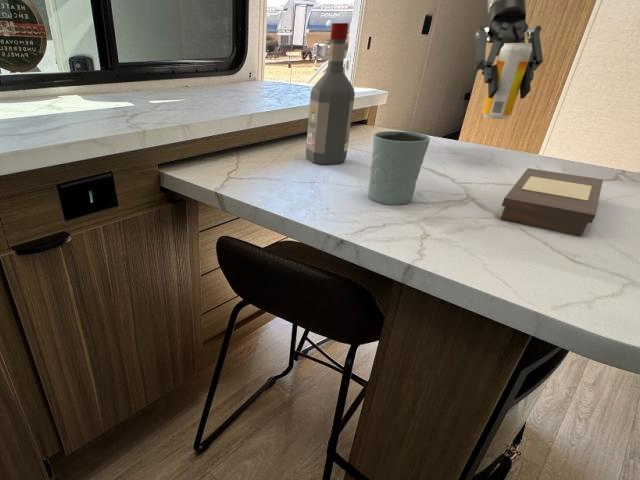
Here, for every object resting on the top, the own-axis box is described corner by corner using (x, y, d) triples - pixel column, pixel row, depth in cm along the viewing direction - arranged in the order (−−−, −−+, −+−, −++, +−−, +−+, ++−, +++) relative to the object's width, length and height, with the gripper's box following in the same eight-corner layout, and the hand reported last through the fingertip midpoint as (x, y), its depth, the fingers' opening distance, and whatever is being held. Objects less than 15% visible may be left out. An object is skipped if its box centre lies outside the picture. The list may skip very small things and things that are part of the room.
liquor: (316, 165, 104) (329, 22, 88) (302, 156, 112) (313, 23, 95) (349, 163, 106) (368, 23, 90) (333, 154, 114) (349, 23, 97)
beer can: (508, 116, 100) (532, 43, 92) (510, 120, 95) (535, 43, 87) (481, 114, 102) (501, 43, 94) (481, 118, 98) (503, 43, 89)
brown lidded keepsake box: (520, 186, 90) (527, 167, 88) (593, 199, 84) (603, 178, 81) (496, 219, 75) (504, 196, 72) (584, 238, 68) (596, 214, 66)
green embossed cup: (366, 204, 81) (377, 140, 74) (361, 188, 89) (370, 129, 83) (420, 207, 80) (436, 142, 73) (410, 190, 88) (423, 130, 82)
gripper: (540, 22, 100) (545, 106, 95) (457, 22, 102) (457, 104, 98) (560, -7, 93) (566, 82, 88) (470, -6, 95) (471, 81, 91)
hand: (509, 94), depth 93 cm, fingers closed on beer can, 6 cm apart
